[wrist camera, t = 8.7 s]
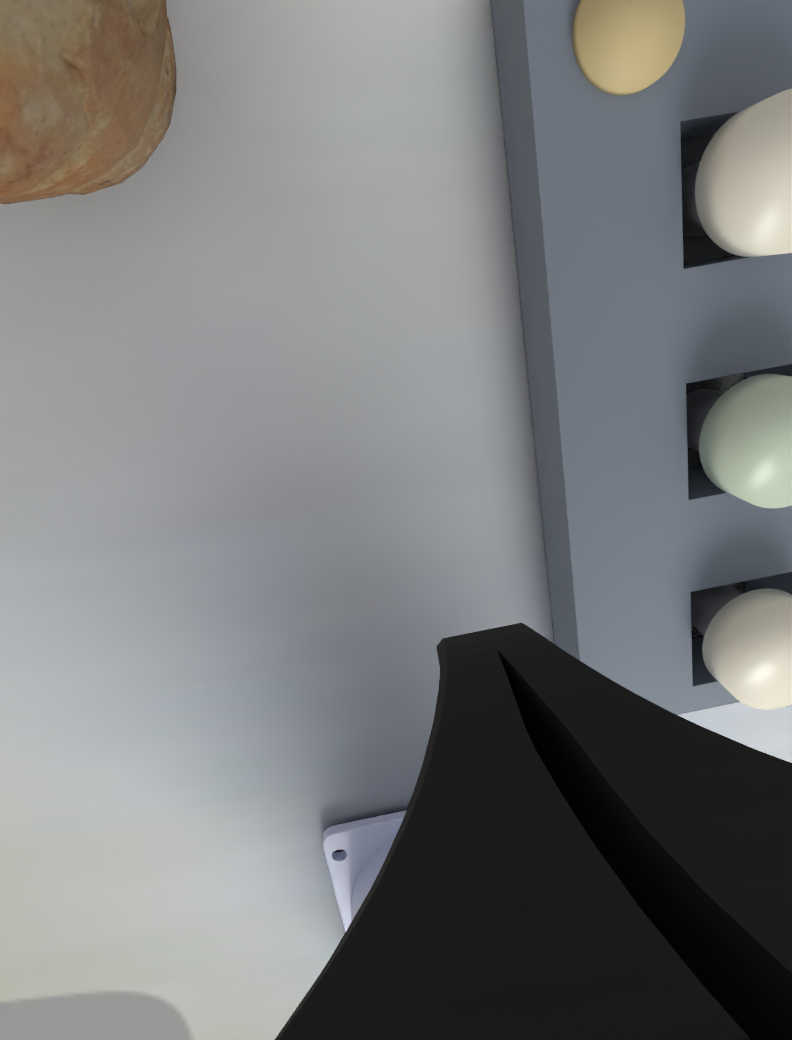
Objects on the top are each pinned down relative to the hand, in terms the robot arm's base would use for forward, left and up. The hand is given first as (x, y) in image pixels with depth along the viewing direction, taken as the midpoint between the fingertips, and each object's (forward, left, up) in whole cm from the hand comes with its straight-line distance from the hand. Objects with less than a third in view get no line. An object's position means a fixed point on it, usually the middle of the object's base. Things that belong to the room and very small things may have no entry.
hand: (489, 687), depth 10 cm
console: (+2, -9, -10) cm, 14 cm away
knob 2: (-5, -9, -10) cm, 15 cm away
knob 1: (+7, -9, -10) cm, 15 cm away
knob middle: (+1, -9, -10) cm, 14 cm away
